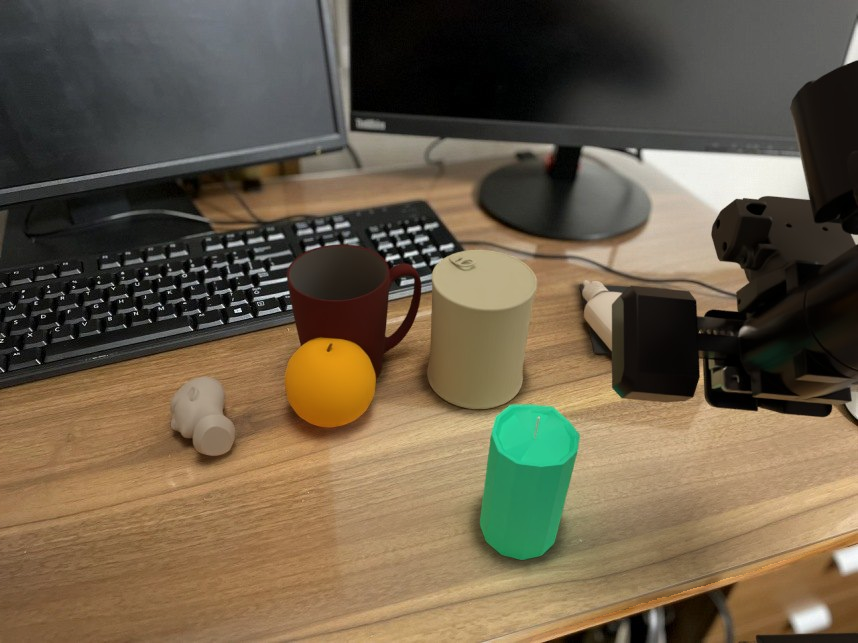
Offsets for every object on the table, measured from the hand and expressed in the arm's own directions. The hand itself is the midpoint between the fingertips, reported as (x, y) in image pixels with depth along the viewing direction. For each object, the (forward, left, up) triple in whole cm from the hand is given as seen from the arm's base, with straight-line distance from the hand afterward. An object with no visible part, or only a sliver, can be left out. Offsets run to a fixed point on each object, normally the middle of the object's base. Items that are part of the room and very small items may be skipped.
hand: (714, 387), depth 46 cm
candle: (+5, +11, -13) cm, 18 cm away
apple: (+24, +17, -13) cm, 32 cm away
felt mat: (+17, -16, -13) cm, 27 cm away
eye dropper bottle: (+12, -11, -11) cm, 19 cm away
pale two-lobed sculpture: (+28, +27, -13) cm, 42 cm away
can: (+20, +3, -13) cm, 24 cm away
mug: (+28, +12, -13) cm, 33 cm away
